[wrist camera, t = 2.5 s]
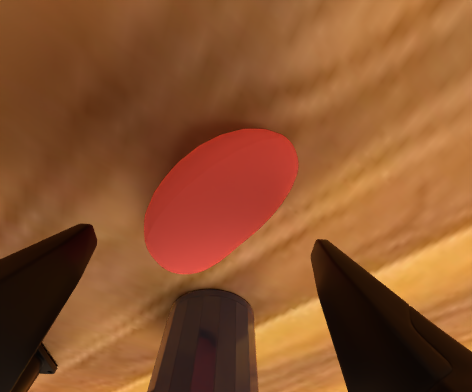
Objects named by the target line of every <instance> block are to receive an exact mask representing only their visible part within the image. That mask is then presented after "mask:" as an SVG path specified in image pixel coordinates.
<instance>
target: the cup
mask: <svg viewBox="0 0 472 392" xmlns="http://www.w3.org/2000/svg"><path fill="white" fill-rule="evenodd" d="M147 392H259V390H258V374H257V358H256V341H255V325H254V314H253V310H252V308H251V306H250V305H249V304H248V303H247V302H246V301H245V300H244V299H242V298H241V297H239V296H237V295H235V294H233V293H230V292H227V291H222V290H215V289H204V290H196V291H192V292H189V293H187V294H185V295H183V296H181V297H180V298H178V299H177V300H176V301H175V302H174V304H173V305H172V307H171V311H170V313H169V316H168V320H167V324H166V327H165V331H164V334H163V338H162V341H161V345H160V348H159V352H158V355H157V359H156V362H155V366H154V370H153V373H152V377H151V380H150V384H149V387H148V391H147Z"/></svg>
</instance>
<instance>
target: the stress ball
mask: <svg viewBox="0 0 472 392" xmlns="http://www.w3.org/2000/svg"><path fill="white" fill-rule="evenodd" d="M297 172H298V157H297V154H296V151H295V149H294V147H293V145H292V143H291V142H290V141H289V140H288V139H287V138H286V137H285V136H283V135H281V134H279V133H276V132H273V131H270V130H267V129H241V130H237V131H233V132H229V133H225V134H221V135H219V136H217V137H215V138H213V139H211V140H209V141H207V142H205V143H203V144H201V145H199V146H198V147H197V148H195V149H194V150H193V151H192V152H190V153H189V154H188V155H186V156H185V157H184V158H183V159H181V160H180V161H179V162H178V163H177V164H176V165H175V166H174V167H173V168H172V169H171V171H170V172H169V173H168V174H167V175H166V177H165V178H164V179H163V180H162V182H161V183H160V185H159V186H158V187H157V189H156V190H155V192H154V194H153V196H152V199H151V201H150V203H149V206H148V208H147V211H146V213H145V220H144V236H145V243H146V246H147V249H148V251H149V253H150V254H151V256H152V257H153V258H154V259H155V261H156V262H157V263H158V264H159V265H161V266H162V267H163V268H164V269H166V270H168V271H170V272H173V273H176V274H192V273H198V272H201V271H204V270H206V269H208V268H210V267H212V266H213V265H215V264H217V263H219V262H220V261H221V260H223V259H224V258H225V257H226V256H227V255H229V254H230V253H231V252H232V251H233V250H234V249H236V248H237V247H238V246H239V245H240V244H242V243H243V242H244V241H245V240H247V239H248V238H249V237H250V236H251V235H253V234H254V233H255V232H256V231H257V230H258V229H260V228H261V227H262V226H263V225H264V224H265V223H266V221H267V220H268V219H269V218H270V217H271V216H272V215H273V214H274V213H275V212H276V210H277V209H278V208H279V207H280V205H281V204H282V203H283V201H284V200H285V198H286V196H287V195H288V193H289V192H290V190H291V188H292V186H293V184H294V181H295V178H296V176H297Z"/></svg>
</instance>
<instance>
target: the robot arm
mask: <svg viewBox="0 0 472 392" xmlns="http://www.w3.org/2000/svg"><path fill="white" fill-rule="evenodd" d="M96 246H97V238H96V235H95V232H94V228H93V226H92V225H90V224H78V225H76V226H73V227H71V228H69V229H67V230H64V231H62V232H60V233H58V234H56V235H53V236H51V237H49V238H47V239H44V240H42V241H40V242H38V243H36V244H33V245H31V246H29V247H27V248H25V249H22V250H20V251H18V252H16V253H13V254H11V255H9V256H7V257H5V258H2V259H0V392H27V391H28V390H29V388H30V387H31V385H32V384H33V382H34V381H35V379H36V378H37V376H38V375H39V373H41V374H54V373H55V371H56V370H57V367H56V366H55V364H54V363H53V361H52V360H51V358H50V357H49V355H48V354H47V352H46V351H45V349H44V348H43V347H42V345H41V342H42V341H43V339H44V337H45V336H46V334H47V332H48V331H49V329H50V328H51V326H52V324H53V323H54V321H55V320H56V318H57V316H58V315H59V313H60V311H61V310H62V308H63V307H64V305H65V303H66V302H67V300H68V299H69V297H70V295H71V294H72V292H73V290H74V289H75V287H76V286H77V284H78V282H79V280H80V278H81V277H82V275H83V273H84V271H85V268H86V266H87V264H88V262H89V260H90V258H91V256H92V254H93V252H94V250H95V248H96ZM311 262H312V267H313V272H314V277H315V282H316V288H317V292H318V296H319V300H320V303H321V306H322V309H323V313H324V316H325V319H326V322H327V325H328V329H329V332H330V335H331V338H332V341H333V345H334V348H335V351H336V354H337V357H338V361H339V364H340V367H341V370H342V374H343V377H344V380H345V383H346V386H347V390H348V392H472V352H471V351H470V350H469V349H467V348H466V347H464V346H463V345H462V344H460V343H459V342H457V341H456V340H455V339H453V338H452V337H451V336H449V335H448V334H446V333H445V332H444V331H442V330H441V329H440V328H438V327H437V326H436V325H434V324H433V323H432V322H431V321H429V320H428V319H427V318H425V317H424V316H423V315H421V314H420V313H419V312H418V311H416V310H415V309H414V308H413V307H411V306H409V304H407V303H406V302H405V301H404V300H402V299H401V298H400V297H399V296H397V295H396V294H395V293H394V292H392V291H391V290H390V289H389V288H387V287H386V286H385V285H384V284H382V283H381V282H380V281H378V280H377V279H376V278H375V277H373V276H372V275H371V274H370V273H368V272H367V271H366V270H365V269H363V268H362V267H361V266H360V265H358V264H357V263H356V262H354V261H353V260H352V259H351V258H349V257H348V256H347V255H346V254H344V253H343V252H342V251H341V250H339V249H338V248H337V247H336V246H334V245H333V244H332V243H331V242H329V241H328V240H323V239H317V240H316V241H315V244H314V247H313V250H312V253H311Z"/></svg>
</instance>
